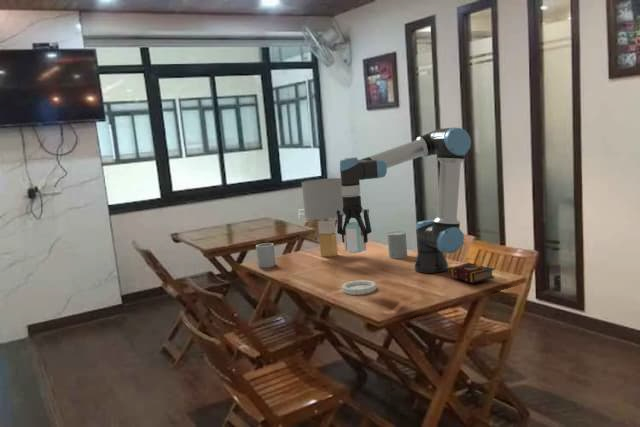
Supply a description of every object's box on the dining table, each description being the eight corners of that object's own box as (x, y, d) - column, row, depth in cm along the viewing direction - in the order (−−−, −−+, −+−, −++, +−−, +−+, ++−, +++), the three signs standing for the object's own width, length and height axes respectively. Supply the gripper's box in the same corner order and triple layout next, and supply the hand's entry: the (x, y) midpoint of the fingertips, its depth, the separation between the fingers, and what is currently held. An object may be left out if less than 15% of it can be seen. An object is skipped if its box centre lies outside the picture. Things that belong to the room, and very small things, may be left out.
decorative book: (473, 284, 228) (473, 272, 227) (448, 276, 242) (447, 265, 242) (494, 278, 233) (493, 267, 232) (468, 272, 247) (467, 261, 247)
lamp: (357, 252, 306) (351, 177, 300) (336, 262, 287) (330, 182, 281) (322, 251, 318) (316, 179, 313) (300, 260, 299) (293, 183, 293)
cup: (277, 267, 288) (275, 244, 286) (261, 270, 285) (258, 247, 283) (272, 264, 296) (270, 242, 295) (256, 267, 293) (254, 244, 292)
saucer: (380, 285, 237) (379, 280, 236) (368, 295, 224) (368, 290, 224) (349, 284, 243) (349, 279, 242) (337, 294, 230) (336, 288, 230)
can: (344, 251, 233) (342, 223, 232) (359, 248, 236) (357, 221, 234) (351, 254, 227) (349, 225, 225) (367, 251, 229) (364, 222, 228)
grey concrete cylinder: (386, 256, 292) (384, 233, 290) (402, 253, 295) (400, 230, 293) (393, 259, 283) (391, 235, 281) (410, 256, 285) (409, 233, 284)
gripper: (377, 193, 227) (381, 248, 230) (333, 195, 236) (337, 248, 239) (371, 196, 220) (375, 252, 224) (325, 197, 229) (330, 251, 232)
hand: (355, 250), depth 231 cm, fingers closed on can, 7 cm apart
